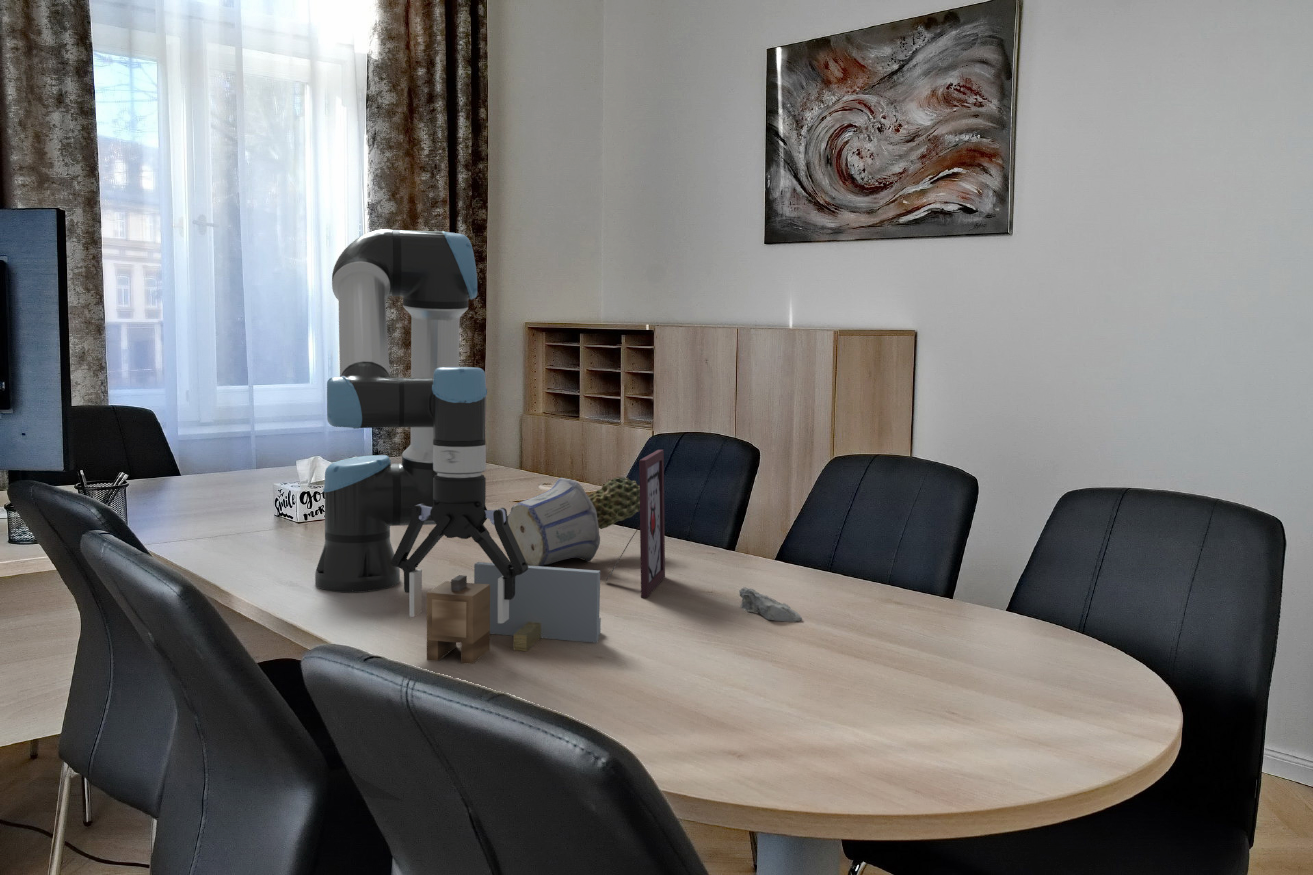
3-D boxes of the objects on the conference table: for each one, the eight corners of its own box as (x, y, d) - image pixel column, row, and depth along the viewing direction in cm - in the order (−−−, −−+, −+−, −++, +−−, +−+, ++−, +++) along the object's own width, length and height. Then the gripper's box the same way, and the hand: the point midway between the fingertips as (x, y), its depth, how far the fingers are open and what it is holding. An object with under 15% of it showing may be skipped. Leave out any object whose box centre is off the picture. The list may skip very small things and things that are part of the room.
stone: (767, 605, 191) (767, 582, 191) (805, 621, 180) (805, 597, 180) (735, 609, 188) (736, 586, 188) (773, 626, 177) (773, 601, 177)
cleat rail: (513, 650, 160) (513, 634, 160) (528, 636, 167) (528, 622, 167) (526, 651, 160) (526, 635, 160) (540, 638, 167) (540, 623, 167)
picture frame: (647, 598, 192) (650, 460, 190) (594, 594, 194) (596, 457, 192) (665, 577, 209) (668, 449, 206) (616, 573, 211) (618, 447, 208)
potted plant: (538, 503, 204) (657, 456, 222) (491, 494, 218) (606, 450, 236) (558, 588, 208) (673, 535, 226) (510, 574, 222) (622, 525, 240)
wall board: (473, 632, 169) (474, 564, 168) (486, 622, 174) (486, 556, 173) (596, 642, 165) (597, 572, 164) (605, 632, 170) (606, 565, 169)
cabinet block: (426, 660, 155) (426, 581, 153) (445, 646, 162) (445, 570, 161) (471, 664, 153) (472, 585, 152) (489, 649, 160) (490, 574, 159)
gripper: (367, 473, 154) (368, 618, 156) (533, 481, 149) (532, 630, 151) (390, 467, 161) (391, 605, 163) (549, 474, 156) (548, 617, 158)
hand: (459, 618), depth 157 cm, fingers open, 13 cm apart
